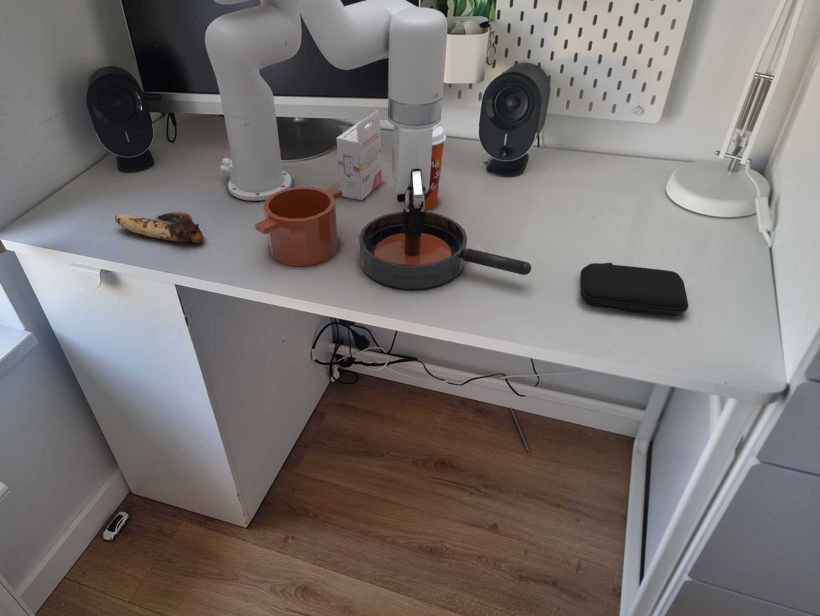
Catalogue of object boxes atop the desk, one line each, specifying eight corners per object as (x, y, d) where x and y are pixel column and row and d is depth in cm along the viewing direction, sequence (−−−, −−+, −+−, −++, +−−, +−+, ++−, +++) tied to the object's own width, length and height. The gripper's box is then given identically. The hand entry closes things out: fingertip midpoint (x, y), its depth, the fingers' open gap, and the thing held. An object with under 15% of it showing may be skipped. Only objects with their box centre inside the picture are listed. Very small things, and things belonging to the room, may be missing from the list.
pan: (341, 275, 104) (340, 251, 101) (387, 225, 115) (387, 202, 112) (440, 302, 97) (442, 277, 94) (479, 246, 108) (482, 223, 105)
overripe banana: (222, 230, 117) (140, 212, 122) (219, 206, 114) (135, 189, 119) (194, 254, 110) (108, 235, 115) (189, 230, 107) (102, 211, 112)
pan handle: (459, 262, 100) (459, 251, 99) (463, 255, 102) (464, 244, 100) (528, 278, 96) (530, 267, 95) (531, 272, 98) (533, 260, 96)
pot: (244, 255, 109) (236, 210, 104) (317, 218, 118) (314, 174, 112) (288, 281, 103) (282, 235, 97) (362, 239, 112) (361, 195, 106)
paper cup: (440, 213, 117) (444, 139, 108) (398, 211, 119) (399, 137, 110) (444, 193, 123) (448, 121, 114) (404, 191, 124) (405, 120, 115)
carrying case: (678, 280, 99) (578, 269, 102) (684, 263, 97) (582, 253, 100) (686, 322, 91) (578, 309, 94) (693, 305, 89) (582, 292, 92)
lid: (358, 259, 106) (357, 226, 102) (408, 230, 112) (409, 198, 108) (416, 289, 99) (417, 255, 95) (466, 256, 105) (469, 223, 101)
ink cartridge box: (360, 178, 130) (358, 104, 120) (382, 183, 128) (381, 108, 118) (338, 196, 124) (334, 121, 114) (361, 201, 122) (358, 125, 112)
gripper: (383, 86, 96) (382, 190, 108) (392, 135, 83) (390, 247, 95) (433, 85, 96) (427, 189, 108) (450, 133, 83) (441, 245, 95)
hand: (409, 216), depth 101 cm, fingers open, 9 cm apart
